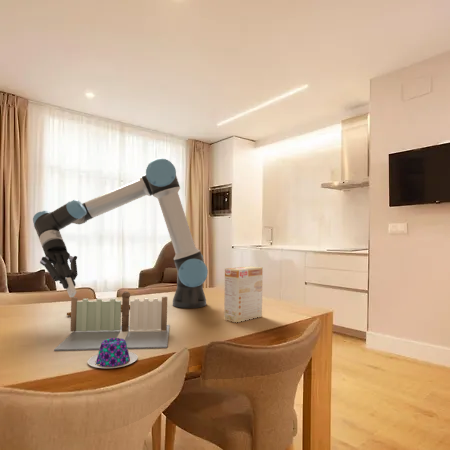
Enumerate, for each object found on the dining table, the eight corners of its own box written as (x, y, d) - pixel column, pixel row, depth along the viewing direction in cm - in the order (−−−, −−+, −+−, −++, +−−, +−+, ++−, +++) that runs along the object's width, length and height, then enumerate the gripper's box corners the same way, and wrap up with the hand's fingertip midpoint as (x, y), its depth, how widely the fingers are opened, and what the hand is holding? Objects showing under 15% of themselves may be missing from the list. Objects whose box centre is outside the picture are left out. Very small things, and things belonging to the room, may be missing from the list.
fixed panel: (166, 330, 113) (167, 296, 113) (166, 332, 111) (167, 297, 111) (130, 331, 111) (131, 296, 112) (129, 333, 109) (130, 297, 110)
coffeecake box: (249, 313, 139) (250, 265, 140) (262, 316, 134) (263, 267, 135) (223, 319, 129) (224, 267, 129) (236, 323, 124) (237, 269, 124)
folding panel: (120, 329, 111) (121, 296, 111) (119, 330, 109) (120, 298, 109) (71, 329, 109) (72, 297, 109) (69, 331, 107) (70, 298, 107)
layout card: (169, 326, 118) (169, 324, 118) (167, 347, 96) (167, 346, 96) (79, 327, 114) (79, 326, 114) (54, 350, 92) (54, 349, 92)
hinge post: (129, 331, 112) (130, 290, 112) (128, 333, 109) (129, 292, 109) (121, 331, 111) (122, 290, 112) (120, 333, 109) (121, 292, 109)
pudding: (76, 366, 82) (76, 344, 82) (110, 351, 93) (110, 331, 93) (116, 374, 78) (117, 351, 78) (147, 357, 89) (147, 337, 89)
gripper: (38, 237, 122) (57, 290, 111) (73, 237, 132) (95, 286, 121) (31, 251, 125) (49, 304, 114) (66, 251, 135) (86, 299, 124)
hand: (73, 294), depth 117 cm, fingers closed
